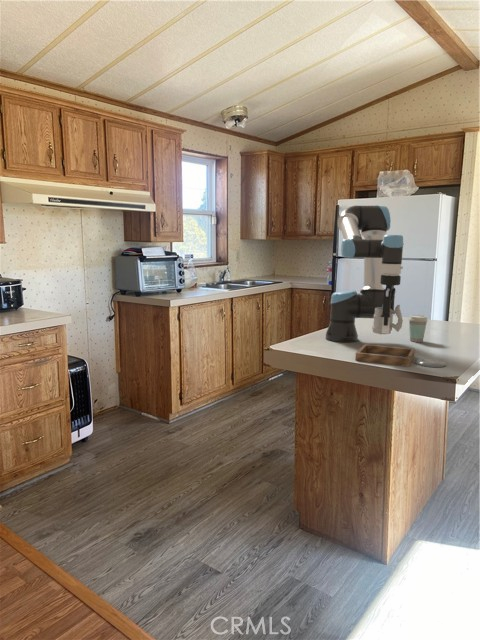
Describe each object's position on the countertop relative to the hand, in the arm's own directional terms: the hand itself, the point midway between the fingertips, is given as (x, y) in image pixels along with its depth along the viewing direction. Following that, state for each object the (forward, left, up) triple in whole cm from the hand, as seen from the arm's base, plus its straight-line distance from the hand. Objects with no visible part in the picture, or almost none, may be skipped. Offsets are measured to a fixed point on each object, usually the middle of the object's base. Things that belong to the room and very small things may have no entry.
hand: (386, 331), depth 193 cm
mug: (0, 0, -1) cm, 1 cm away
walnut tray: (0, 0, -11) cm, 11 cm away
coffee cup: (+8, +43, -11) cm, 45 cm away
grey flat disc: (+17, -1, -11) cm, 20 cm away
